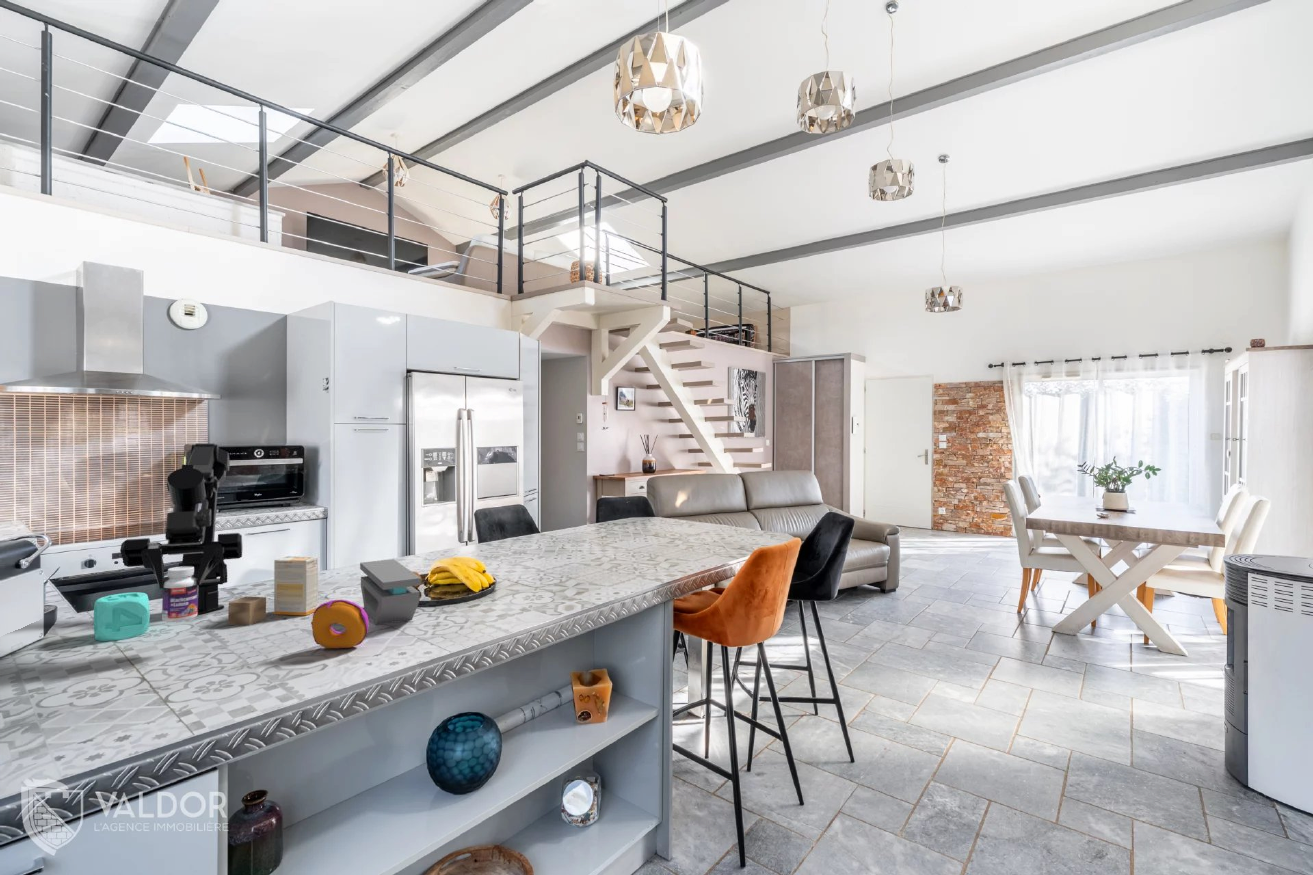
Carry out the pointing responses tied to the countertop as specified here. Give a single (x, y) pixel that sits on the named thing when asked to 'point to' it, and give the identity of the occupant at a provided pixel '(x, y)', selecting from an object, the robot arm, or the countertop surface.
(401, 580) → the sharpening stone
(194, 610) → the pill bottle
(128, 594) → the decorative dice
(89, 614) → the countertop surface
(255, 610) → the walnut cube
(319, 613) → the donut
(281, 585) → the supplement box
